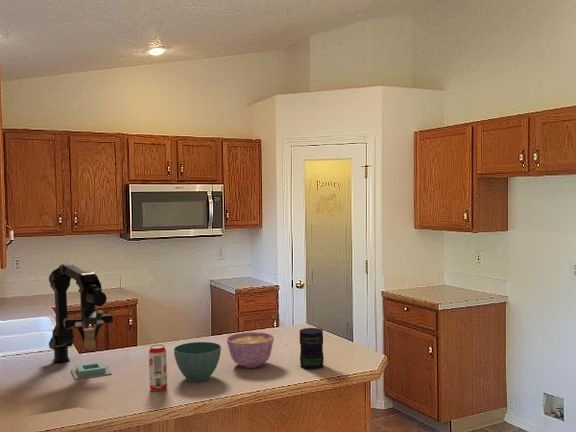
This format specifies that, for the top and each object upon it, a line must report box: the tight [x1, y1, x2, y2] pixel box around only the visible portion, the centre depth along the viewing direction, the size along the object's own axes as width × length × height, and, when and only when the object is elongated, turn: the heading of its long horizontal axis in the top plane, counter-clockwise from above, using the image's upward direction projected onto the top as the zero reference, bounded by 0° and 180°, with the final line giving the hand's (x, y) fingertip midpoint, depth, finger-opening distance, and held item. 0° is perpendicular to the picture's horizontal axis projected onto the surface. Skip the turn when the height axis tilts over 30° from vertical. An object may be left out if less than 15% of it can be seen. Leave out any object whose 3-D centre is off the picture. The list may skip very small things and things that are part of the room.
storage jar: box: [299, 327, 325, 371], centre depth 239 cm, size 10×10×15 cm
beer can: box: [148, 344, 168, 393], centre depth 214 cm, size 6×6×16 cm
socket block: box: [70, 361, 112, 381], centre depth 237 cm, size 14×14×2 cm
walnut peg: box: [83, 327, 96, 351], centre depth 236 cm, size 4×4×8 cm
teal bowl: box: [173, 341, 222, 383], centre depth 226 cm, size 18×18×12 cm
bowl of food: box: [226, 331, 275, 369], centre depth 243 cm, size 20×20×12 cm
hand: (89, 341), depth 236 cm, fingers closed on walnut peg, 4 cm apart
